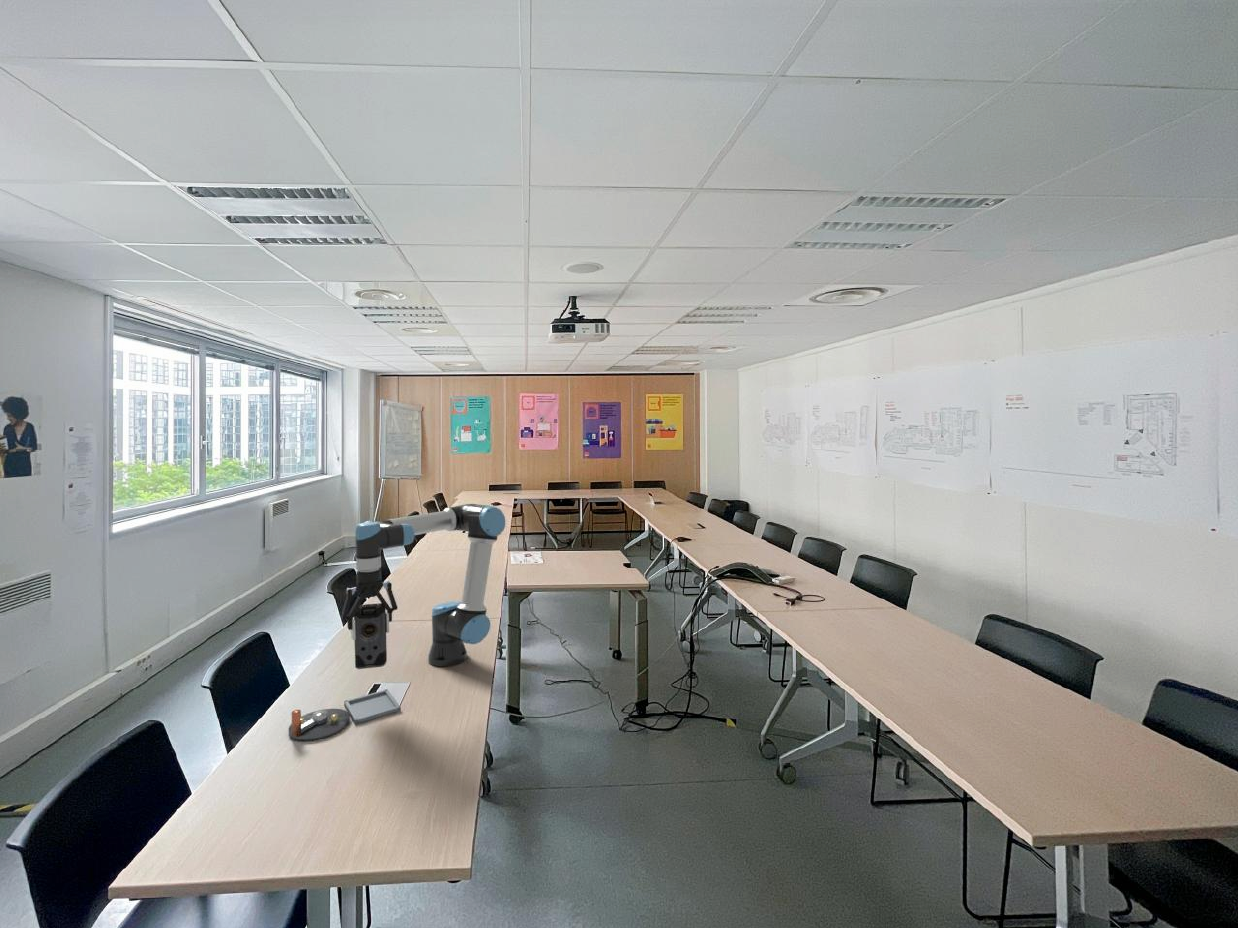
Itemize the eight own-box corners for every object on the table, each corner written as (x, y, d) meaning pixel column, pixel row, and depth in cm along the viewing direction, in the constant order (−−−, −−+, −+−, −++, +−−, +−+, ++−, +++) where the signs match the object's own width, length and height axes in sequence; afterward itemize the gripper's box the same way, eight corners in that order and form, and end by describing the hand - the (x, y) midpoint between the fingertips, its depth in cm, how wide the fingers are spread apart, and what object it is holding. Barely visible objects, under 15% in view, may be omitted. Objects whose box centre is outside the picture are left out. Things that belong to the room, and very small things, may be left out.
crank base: (343, 707, 184) (343, 696, 184) (355, 729, 171) (355, 716, 170) (285, 724, 173) (284, 712, 173) (292, 748, 160) (292, 735, 160)
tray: (387, 693, 194) (387, 689, 194) (400, 711, 181) (400, 707, 181) (344, 705, 185) (344, 701, 185) (355, 725, 173) (355, 720, 173)
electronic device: (354, 670, 179) (352, 610, 177) (357, 662, 184) (356, 604, 183) (384, 667, 181) (383, 607, 180) (387, 659, 187) (386, 602, 186)
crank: (320, 716, 175) (320, 695, 174) (330, 719, 173) (330, 697, 173) (287, 734, 164) (287, 712, 164) (298, 737, 163) (297, 715, 162)
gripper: (400, 562, 191) (401, 624, 192) (329, 572, 177) (331, 639, 178) (406, 566, 185) (408, 630, 186) (333, 577, 171) (335, 646, 172)
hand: (370, 635), depth 182 cm, fingers closed on electronic device, 10 cm apart
